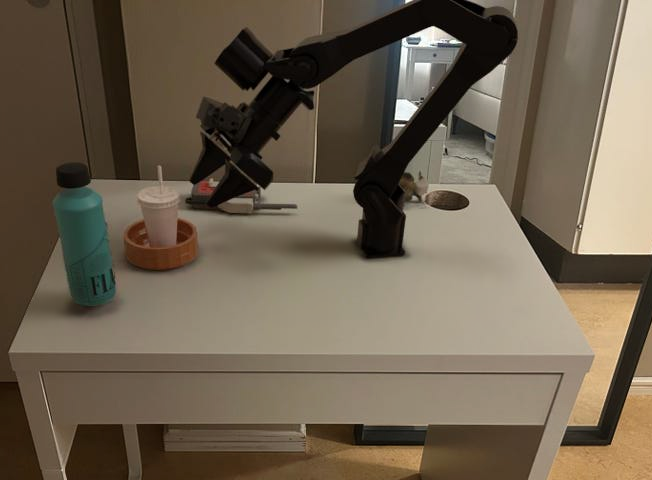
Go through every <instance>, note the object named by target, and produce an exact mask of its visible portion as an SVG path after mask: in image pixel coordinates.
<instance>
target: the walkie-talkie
mask: <svg viewBox="0 0 652 480" xmlns="http://www.w3.org/2000/svg"><path fill="white" fill-rule="evenodd" d="M219 182H220V180H219V181H218V180H217V181H216V180H215V181H214V178H209V179H208V180H202V181H201V182H199V183H197V184H196V185H193V184H192V187H191V192H190V194H191V197H186V198H185V199H184V202H185V203H184V204H187V205H191V207H193V208H194V209H202V210H204V209H206V210H221V211H224V212H227V213H230V214H231V213H233V214H249V215H250V214H253V211H260V210H270V211H273V210H275V211H281V210H282V209H284V210H286V209H290V210H297V209H298V204H296V203H260V202H259V201H257V200H258V199H261V193H262V192H261V190H262V188H261V187H260V186H257V187H258V188H259V190H258V191H256V190H253V191H251V192H248V193H245V194H243V195H240V196H238V197H235V198H233V199H231V200H228V201H226V202H224V203H222V204H219V205H217V206H215V207H213V208H210V207H209V206H208V205H207V204H206V202H207V200H208V199H209V197H210V195H211V194H212V192H213V191H214V189H215V188H216V186H217V185H218V183H219Z"/></svg>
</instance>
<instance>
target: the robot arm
mask: <svg viewBox="0 0 652 480" xmlns="http://www.w3.org/2000/svg"><path fill="white" fill-rule="evenodd" d="M432 27H435V28H437V29H439V30H441V31H442V32H444V33H446V34H447V35H449V36H451V37H452V38H454V39H455V40H457V41H458V42H461V45H460V47H459V49H458V51H457V54H456V55H455V57H454V59H453V61H452V63H451V65H450V66H449V68H447V70H446V71H445V73H444V74H443V75H442V77H441V78H440V79H439V81H437V83H436V84H435V85H434V87H433V88H432V90H431V91H429V93H428V94H427V96H426V97H425V98H424V100H423V101H422V102H421V103H420V105H419V106H418V107H417V109H416V110H415V111H414V112H413V114H412V115H411V116H410V117H409V119H408V120H407V122H406V123H405V124H404V125H403V127H402V128H401V129H400V131H399V132H397V135H395V137H394V139H393V140H392V141H391V142H390V143H389V144H388V145H386V146H384V147H383V148H382V149H381V148H380V147H379V146H378V145H377V144H374V145H373V146H372V149H371V150H370V152H369V154H368V155H367V156H366V157H365V159H363V160H361V161H360V162H359V164H358V167H357V170H356V173H355V175H354V177H353V179H354V180H355V183H354V186H353V190H352V194H353V198H354V200H355V202H356V203H357V205H358V206H359V207H360V208H362V215H361V218H360V219H359V220H358V224H357V225H358V226H357V235H356V236H357V237H356V244H357V245H358V247H359V248H360V250H361V251H362V252H363V254H364V256H365V257H366V258H367V259H374V258H385V257H387V258H388V257H398V256H399V257H401V256H406V250H405V249H404V247H403V243H404V235H405V228H406V221H407V215H406V213H405V212H404V208H405V207H404V206H405V203H406V202H405V197H406V192H405V190H404V189H403V188H402V187H401V186H400V185H399V182H400V180H401V178H402V176H403V174H404V172H405V171H406V169H407V168H408V166H409V164H410V163H411V161H412V160H413V159H414V158H415V156H417V154H418V153H419V152H420V150H421V149H422V148H423V147H424V146H425V144H426V143H427V142H428V141H429V140H430V138H431V137H432V136H433V134H434V133H435V132H436V131H437V130H438V128H439V127H440V126H441V124H442V123H443V122H444V121H445V120H446V118H447V117H448V116H449V115H450V113H451V112H452V111H453V110H454V108H455V107H456V106H457V105H458V103H459V102H460V101H461V100H462V99H463V98H464V96H465V95H466V94H467V92H468V91H469V90H470V89H471V88H472V87H473V86H474V85H475V84H477V83H478V82H479V81H480V80H482V79H483V78H485V77H486V76H487V75H489V74H490V73H492V71H494V70H495V69H496V68H497V67H498V66H500V65H501V63H503V62H504V61H506V59H507V58H508V57H510V56H511V54H513V52H514V50H515V49H516V47H517V44H518V40H519V35H518V34H519V32H518V31H519V30H518V27H517V23H516V19H515V17H514V14H513V13H512V12H511V11H510V10H509V9H508V8H505V7H504V6H498V5H494V6H489V7H486V6H483V5H481V4H479V3H476V2H474V1H471V0H410V1H408V2H405V3H403V4H400V5H399V6H396V7H393V8H391V9H390V10H387V11H385V12H383V13H381V14H379V15H376V16H374V17H372V18H370V19H367V20H366V21H363V22H361V23H359V24H356V25H354V26H352V27H350V28H347V29H343V30H338V31H337V30H336V31H329V32H324V33H320V34H317V35H313V36H308V37H306V38H304V39H302V40H301V41H299V42H298V44H297V45H296V46H295V47H289V48H284V49H279V50H276V51H275V52H274V53H272V51H270V49H268V48H267V47H266V46H265V45H264V44H263V43H262V42H261V41H260V40H259V39H258V38H257V37H256V35H255V34H254V32H253V31H252V30H251V29H249V27H247V26H246V27H243V28H242V29H241V30H240V32H238V34H237V35H236V36H235V37H234V39H232V41H231V42H230V43H229V44H228V45H227V46H226V47H225V48H223V50H222V51H221V53H220V54H219V55H218V57H216V59H215V61H214V65H215V67H217V68H218V69H219V70H220V71H221V72H222V73H223V74H224V75H225V76H227V77H228V78H229V79H230V80H231V81H232V82H233V83H234V84H235V85H236V86H237V87H238V88H239V89H240V90H241V91H243V92H244V91H246V92H248V91H249V90H250V89H251V91H253V92H254V91H255V90H256V89H257V88H258V87H259V85H261V83H262V82H263V81H264V80H265V78H266V77H267V76H268V74H270V75H271V76H270V78H269V79H268V80H267V82H266V83H265V84H264V85H263V87H262V88H261V89H260V90H259V91H258V93H256V95H255V96H254V97H253V98H252V100H251V101H250V102H249V103H248V104H247V103H246V102H245V101H244V102H240V103H239V105H238V106H237V107H236V106H234V104H233V105H229V104H228V102H220V101H218V100H215V99H214V98H210V97H208V96H206V95H205V96H204V95H203V96H202V99H201V101H200V105H199V107H198V109H197V113H196V115H195V118H196V119H197V120H199V121H200V125H199V127H200V128H201V129H202V130H203V131H204V132H203V131H202V130H200V133H199V135H200V137H201V144H202V148H201V151H200V154H199V156H198V159H197V161H196V163H195V166H194V168H193V170H192V173H191V175H190V177H189V183H190V184H192V186H193V185H196V184H197V183H199V182H201V181H205V179H207V178H208V177H209V176H212V174H213V173H215V172H216V171H218V170H219V169H221V168H222V167H225V168H224V174H223V176H222V177H221V178H220V180H219V181H220V182H219V183H218V185H217V186H216V188H215V189H214V191H213V192H212V194H211V195H210V197H209V199H208V200H207V202H206V204H207V205H208V206H209V207H210V208H213V207H215V206H217V205H219V204H222V203H224V202H226V201H228V200H231V199H233V198H235V197H238V196H240V195H243V194H245V193H248V192H251V191H253V190H256V191H258V190H259V188H258V187H260V188H261V190H263V191H265V190H267V189H268V187H269V186H270V185H271V184H272V183H273V182H274V171H273V170H272V169H271V168H270V167H269V166H268V165H267V164H266V163H265V162H264V161H263V160H262V159H263V156H262V154H260V153H261V152H262V151H263V150H264V149H265V147H266V146H267V145H268V143H269V142H270V141H271V140H272V139H273V140H274V141H276V142H277V141H278V140H279V139H280V138H281V135H280V133H278V132H279V130H280V129H282V127H283V126H284V124H285V123H286V122H287V121H288V120H289V118H290V117H291V116H292V115H293V114H294V113H295V111H296V110H297V109H298V108H299V107H300V106H301V105H302V106H303V107H304V108H306V109H307V110H308V111H313V110H315V103H314V97H315V90H309V89H314V88H315V87H318V86H319V85H320V84H322V83H323V82H325V81H326V80H328V79H329V78H331V77H333V76H334V75H336V73H338V72H339V71H340V70H342V69H343V68H345V67H346V66H347V65H349V64H350V63H352V62H353V61H355V60H357V59H359V58H362V57H364V56H366V55H368V54H371V53H373V52H376V51H378V50H380V49H383V48H385V47H388V46H390V45H392V44H394V43H397V42H399V41H401V40H403V39H406V38H408V37H410V36H413V35H415V34H418V33H420V32H422V31H424V30H427V29H429V28H432ZM286 80H288V81H286ZM226 151H227V152H228V153H229V154H230V155H229V154H228V153H227V152H226ZM404 202H405V203H404Z"/></svg>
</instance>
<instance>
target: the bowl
mask: <svg viewBox="0 0 652 480" xmlns="http://www.w3.org/2000/svg"><path fill="white" fill-rule="evenodd" d="M197 229H198V228H197V226H195V225H194V224H193V223H192V222H191V221H188V220H186V219H183V218H179V217H178V218H177V238H176V245H173V246H169V247H157V248H155V247H151V246H150V242H149V238H148V234H147V230H146V226H145V222H144V218H143V219H140V220H138V221H135V222H133V223H132V224H130V225H128V226H127V227H126V228H125V230H123V244H124V252H125V257H126V259H127V260H128V261H129V263H131V264H133V265H134V266H136V267H140V268H142V269H145V270H151V271H169V270H174V269H177V268H181V267H183V266H185V265H186V264H188V263H190V262H192V261H193V260H194V259H195V258H196V257H197V256H198V253H199V241H198V231H197Z"/></svg>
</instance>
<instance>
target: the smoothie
mask: <svg viewBox="0 0 652 480" xmlns="http://www.w3.org/2000/svg"><path fill="white" fill-rule="evenodd" d="M156 168H157V177H158V185H154V186H149V187H145V188H143V189H141V190H139V191H138V192H137V195H136V197H137V200H136V201H137V204H138V205H139V206H140V209H141V214H142V217H143V219H144V222H145V226H146V230H147V234H148V238H149V242H150V246H151V247H155V248H157V247H169V246H173V245H176V238H177V218H179V217H178V216H179V215H178V214H179V203H180V201H181V194H180V191H179V190H178V189H177V188H175V187H172V186H167V185H164V181H163V172H162V165H157V167H156Z"/></svg>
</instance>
